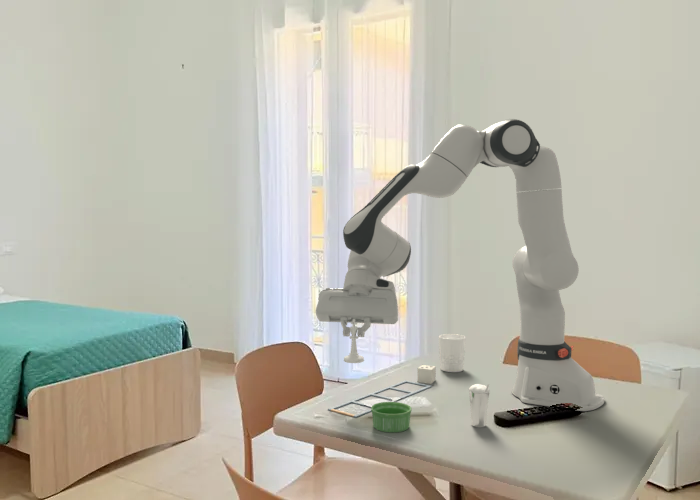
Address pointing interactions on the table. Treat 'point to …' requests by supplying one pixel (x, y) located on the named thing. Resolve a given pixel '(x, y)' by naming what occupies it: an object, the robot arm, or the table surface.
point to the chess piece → (353, 347)
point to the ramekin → (391, 416)
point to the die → (426, 374)
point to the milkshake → (479, 404)
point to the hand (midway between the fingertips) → (353, 335)
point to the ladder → (379, 397)
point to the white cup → (452, 352)
